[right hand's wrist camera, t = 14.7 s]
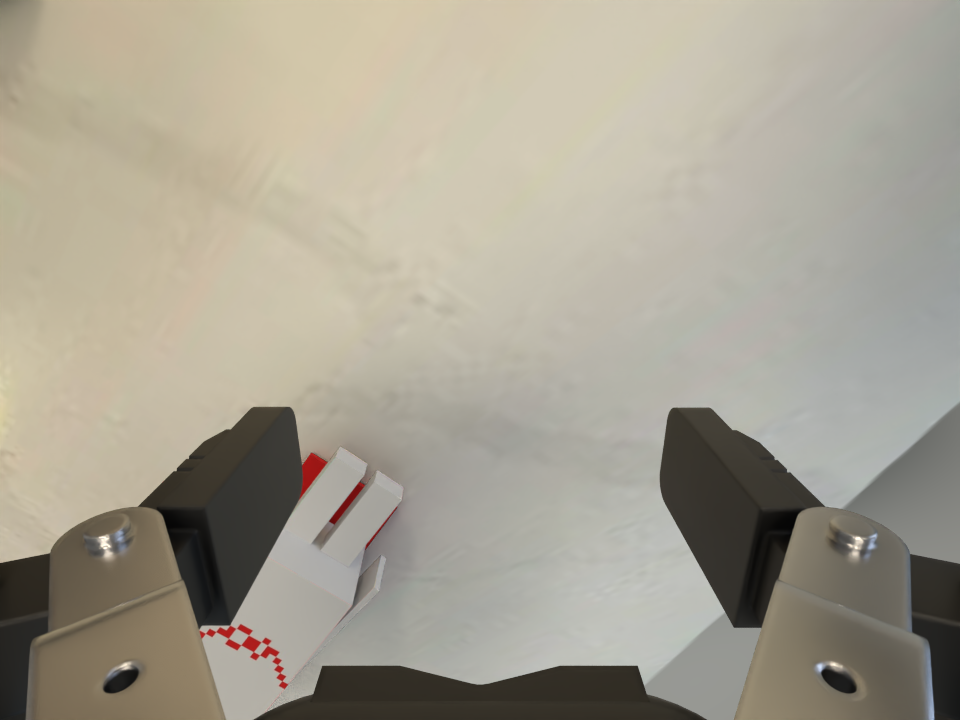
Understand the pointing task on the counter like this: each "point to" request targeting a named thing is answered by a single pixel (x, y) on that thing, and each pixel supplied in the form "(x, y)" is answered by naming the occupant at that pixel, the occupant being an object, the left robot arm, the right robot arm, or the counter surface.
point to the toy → (303, 585)
